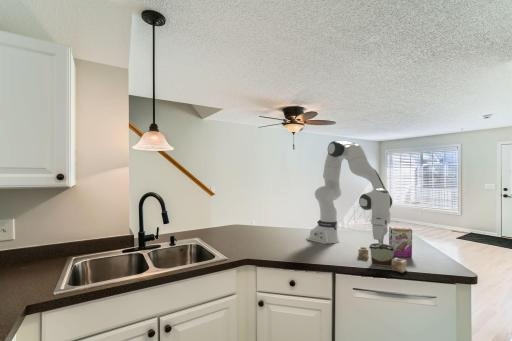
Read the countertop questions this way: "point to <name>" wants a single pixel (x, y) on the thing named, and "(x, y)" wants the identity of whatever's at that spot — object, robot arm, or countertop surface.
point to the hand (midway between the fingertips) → (380, 244)
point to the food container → (381, 254)
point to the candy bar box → (401, 241)
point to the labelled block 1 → (363, 252)
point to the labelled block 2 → (399, 265)
